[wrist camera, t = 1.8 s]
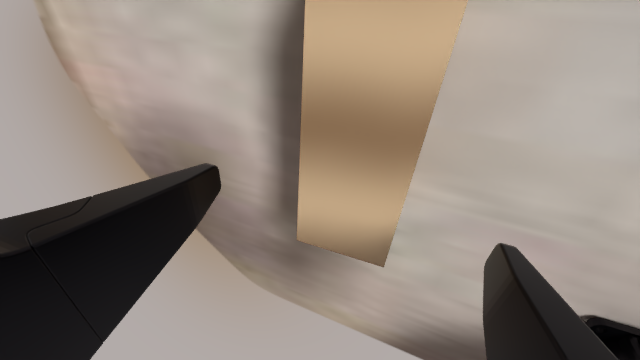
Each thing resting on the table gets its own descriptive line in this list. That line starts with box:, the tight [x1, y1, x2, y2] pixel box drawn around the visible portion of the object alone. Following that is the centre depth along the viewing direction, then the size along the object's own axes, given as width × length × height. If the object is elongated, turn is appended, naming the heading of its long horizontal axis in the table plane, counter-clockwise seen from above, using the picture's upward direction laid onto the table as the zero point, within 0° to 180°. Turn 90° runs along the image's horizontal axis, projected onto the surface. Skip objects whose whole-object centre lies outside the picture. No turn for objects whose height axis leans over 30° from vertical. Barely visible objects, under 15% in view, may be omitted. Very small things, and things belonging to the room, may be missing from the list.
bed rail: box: [297, 0, 468, 267], centre depth 11 cm, size 14×4×5 cm, turn 176°
